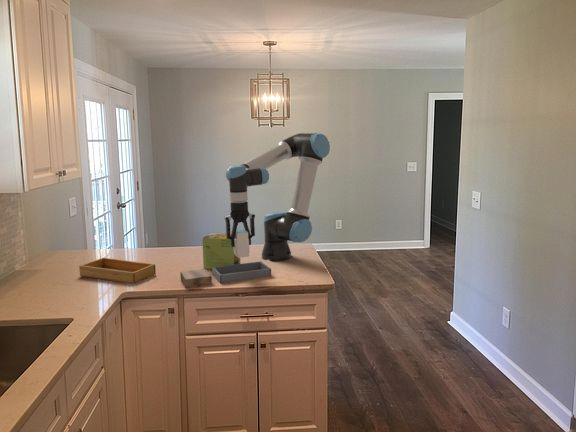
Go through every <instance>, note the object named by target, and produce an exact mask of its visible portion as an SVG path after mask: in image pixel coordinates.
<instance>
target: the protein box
mask: <svg viewBox="0 0 576 432" xmlns="http://www.w3.org/2000/svg"><path fill="white" fill-rule="evenodd" d="M230 235H231V233H230ZM201 241H202V259H203V260H202V261H203V269H206V270H207V269H208V270H209V269H210V270H212V267H219V266H227V265H235V264H242V263H241V258H238V257H237V256H235V255H234V248H233V247H232V246H231V239H228V238H227V237H226V233H209V234H207V235H205V236H204V237H202V239H201Z"/></svg>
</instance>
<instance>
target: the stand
mask: <svg viewBox="0 0 576 432" xmlns="http://www.w3.org/2000/svg"><path fill="white" fill-rule="evenodd" d="M208 271H209V270H207V269H204V268H201V269H192V270H186V271H185V270H183V271H180V282H181V283H182V285H183V286H184V287H185V288H184V289H193V288H199V287H201V286H206V285H212V284H213V282H212V281H213V280H212V279H213V278H212V276H213V275H211V274H210V273H209V272H208Z"/></svg>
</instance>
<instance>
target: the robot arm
mask: <svg viewBox="0 0 576 432" xmlns="http://www.w3.org/2000/svg"><path fill="white" fill-rule="evenodd" d="M330 149H331V145H330V141H329V139H328V137H327V136H326V135H324V134H323V133H318V132H311V133H309V132H308V133H306V132H305V133H304V132H303V133H302V132H301V133H297V134H294V135H291V136H288V137H287V138H285V139H282V140H281V141H279V142H278V143H277V145H276V146H275V147H272V148H270V149H269V150H266V151H265V152H262V153H261V154H259V155H257V156H255V157H253V158H251V159H249V160H247V161H246V162H244V163H242V164H240V165H231V166H229V167H228V168H227V170H226V172H225V177H226V180H227V181H228V182H229V199H230V214H229V215H227V216H224V217H223V218H224V220H225V234H226V237H227V238H228V239H231V246H232V247H233V248H234V254H235V255H237V244H236V240H235V235H236V230H238V225H239V224H240V223H242V225H243V228H244V230H245V231H247V232H248V242H249V246H251V245H252V238H253V237H255V236H256V230H255V228H256V227H255V218H256V214H254V213H250V212H249V201H248V198H249V197H248V187H253V186H262V185H266V184H268V182H269V180H270V173H269V170H268V169H269V168H272V167H273V166H275V165H277V164H278V163H280V162H282V161H284V160H290V159H292V158H296V157H298V159H299V161H300V165H299V169H298V174H297V178H296V183H295V187H294V192H293V196H292V200H291V205H290V209H288V210H287V211H278V212H272V213H271V212H270V213H267V214H265V215H264V220H263V228H264V231H263V233H264V243H263V247H262V251H261V259H263V260H266V261H268V260H269V261H270V262H271V261H272V262H274V261H275V262H280V261H286V260H289V259H291V258H292V252H291V251H292V250H291V248H290V245H289V242H293V243H303V242H305V241H307V240H308V239H309V238H310V236H311V234H312V232H313V226H312V222H311V220H310V215H309V214H308V213H309V208H310V202H311V200H312V199H311V198H312V195H313V189H314V185H315V180H316V178H317V171H318V167H319V165H321V164H322V163H323V159H324V158H326V157H327V156H328V155H329V154H330ZM248 218H249V225H248V221H247V219H248ZM231 219H232V220H233V221H232V222H233V223H232V228H231V222H230V221H231ZM249 226H250V227H249ZM249 228H250V229H249ZM230 234H231V235H230ZM288 241H289V242H288Z"/></svg>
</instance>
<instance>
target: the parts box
mask: <svg viewBox="0 0 576 432" xmlns="http://www.w3.org/2000/svg"><path fill="white" fill-rule="evenodd" d="M235 240H236V244H237V255H235V254H234V255H235V256H237V257H238V258H240V259H241V258H247V257H250V245H249V242H248V232H247V231H245V228H244V229H237V230H236V235H235Z"/></svg>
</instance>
